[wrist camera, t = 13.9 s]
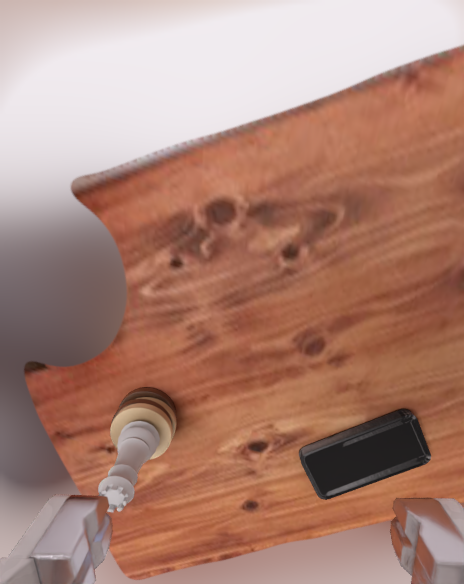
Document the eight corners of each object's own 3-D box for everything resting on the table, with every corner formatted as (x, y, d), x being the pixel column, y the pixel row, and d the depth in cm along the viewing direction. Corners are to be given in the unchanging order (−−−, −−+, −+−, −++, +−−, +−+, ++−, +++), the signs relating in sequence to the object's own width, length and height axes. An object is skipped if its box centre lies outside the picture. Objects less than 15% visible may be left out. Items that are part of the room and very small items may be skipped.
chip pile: (189, 405, 36) (184, 424, 32) (162, 449, 37) (155, 472, 34) (135, 377, 35) (124, 394, 32) (110, 423, 37) (96, 444, 33)
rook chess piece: (153, 456, 33) (127, 527, 26) (116, 443, 33) (79, 511, 25) (166, 426, 32) (144, 490, 25) (129, 412, 32) (94, 472, 24)
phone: (433, 461, 36) (320, 502, 37) (427, 454, 37) (318, 494, 39) (414, 411, 34) (297, 456, 36) (408, 405, 35) (295, 449, 37)
